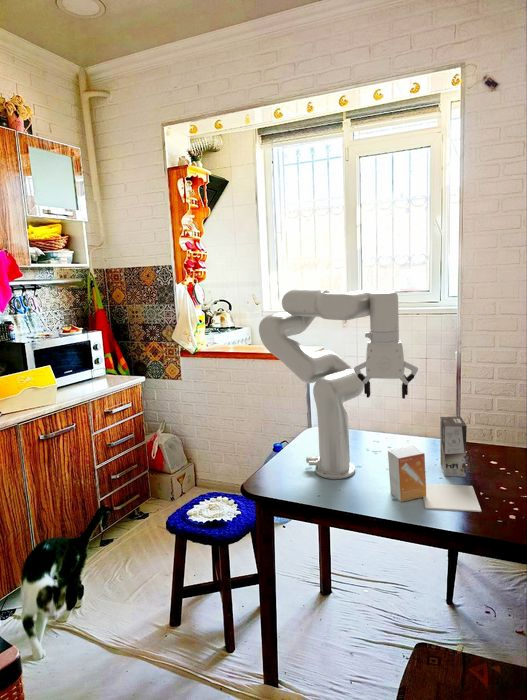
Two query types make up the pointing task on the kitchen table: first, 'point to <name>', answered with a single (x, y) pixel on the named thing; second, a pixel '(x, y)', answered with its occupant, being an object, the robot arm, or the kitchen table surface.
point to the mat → (451, 498)
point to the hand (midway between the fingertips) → (385, 396)
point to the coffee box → (453, 446)
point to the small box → (407, 473)
